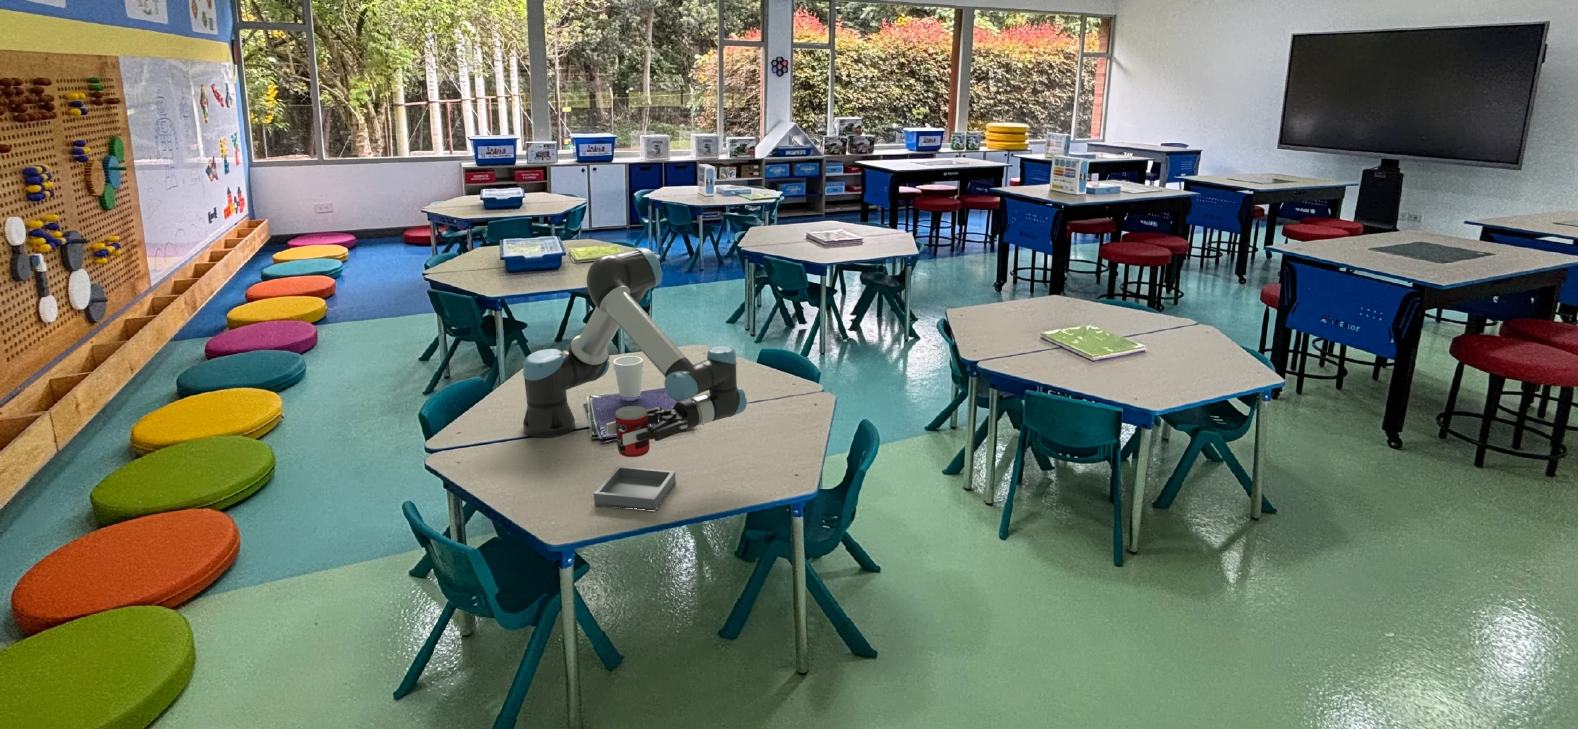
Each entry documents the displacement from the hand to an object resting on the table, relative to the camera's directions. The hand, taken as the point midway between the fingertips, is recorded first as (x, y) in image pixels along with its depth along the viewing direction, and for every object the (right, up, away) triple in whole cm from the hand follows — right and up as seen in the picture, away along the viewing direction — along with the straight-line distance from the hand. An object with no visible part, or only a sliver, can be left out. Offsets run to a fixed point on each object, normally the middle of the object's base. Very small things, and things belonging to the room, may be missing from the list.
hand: (615, 434), depth 228 cm
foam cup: (-9, +6, +72) cm, 73 cm away
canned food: (+4, -5, +5) cm, 8 cm away
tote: (+4, -16, +9) cm, 19 cm away
